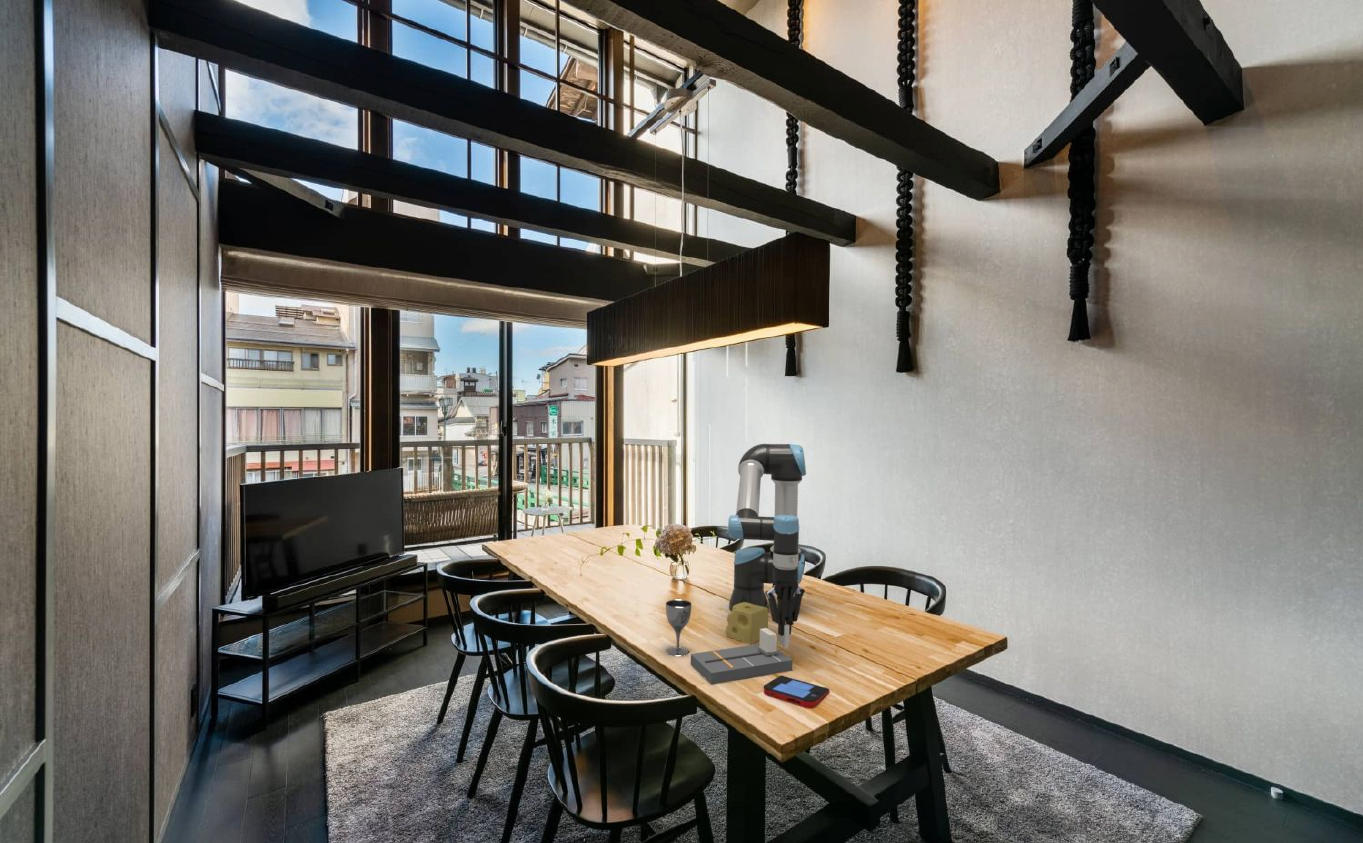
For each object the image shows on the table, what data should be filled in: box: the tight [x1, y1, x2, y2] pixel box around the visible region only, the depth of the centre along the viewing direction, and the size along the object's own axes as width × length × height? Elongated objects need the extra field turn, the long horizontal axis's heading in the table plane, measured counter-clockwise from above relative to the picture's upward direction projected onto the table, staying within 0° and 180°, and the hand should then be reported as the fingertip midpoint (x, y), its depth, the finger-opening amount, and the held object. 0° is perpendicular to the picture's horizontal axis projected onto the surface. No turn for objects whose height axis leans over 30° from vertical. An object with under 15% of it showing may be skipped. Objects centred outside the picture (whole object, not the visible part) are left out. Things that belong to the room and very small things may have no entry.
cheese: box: [725, 602, 769, 645], centre depth 188 cm, size 10×11×10 cm
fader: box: [758, 627, 779, 656], centre depth 166 cm, size 4×6×6 cm
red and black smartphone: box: [763, 675, 830, 709], centre depth 148 cm, size 14×13×2 cm
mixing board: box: [690, 643, 794, 685], centre depth 163 cm, size 26×14×3 cm, turn 113°
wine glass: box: [665, 598, 692, 657], centre depth 174 cm, size 8×8×15 cm
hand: (784, 645), depth 168 cm, fingers closed
